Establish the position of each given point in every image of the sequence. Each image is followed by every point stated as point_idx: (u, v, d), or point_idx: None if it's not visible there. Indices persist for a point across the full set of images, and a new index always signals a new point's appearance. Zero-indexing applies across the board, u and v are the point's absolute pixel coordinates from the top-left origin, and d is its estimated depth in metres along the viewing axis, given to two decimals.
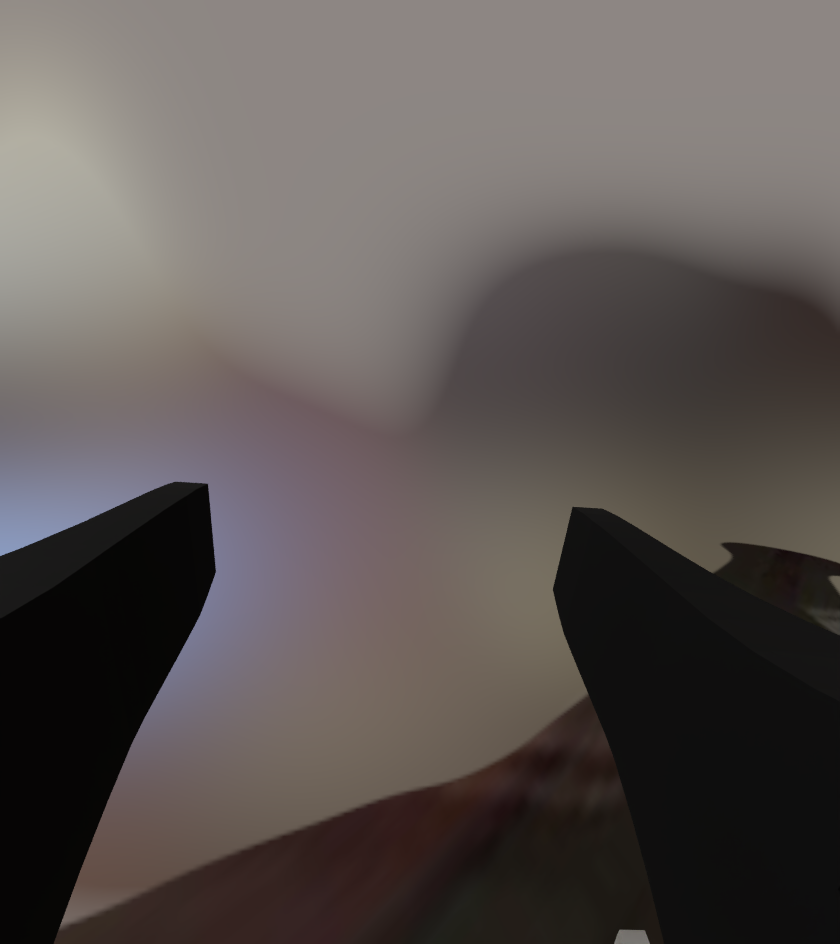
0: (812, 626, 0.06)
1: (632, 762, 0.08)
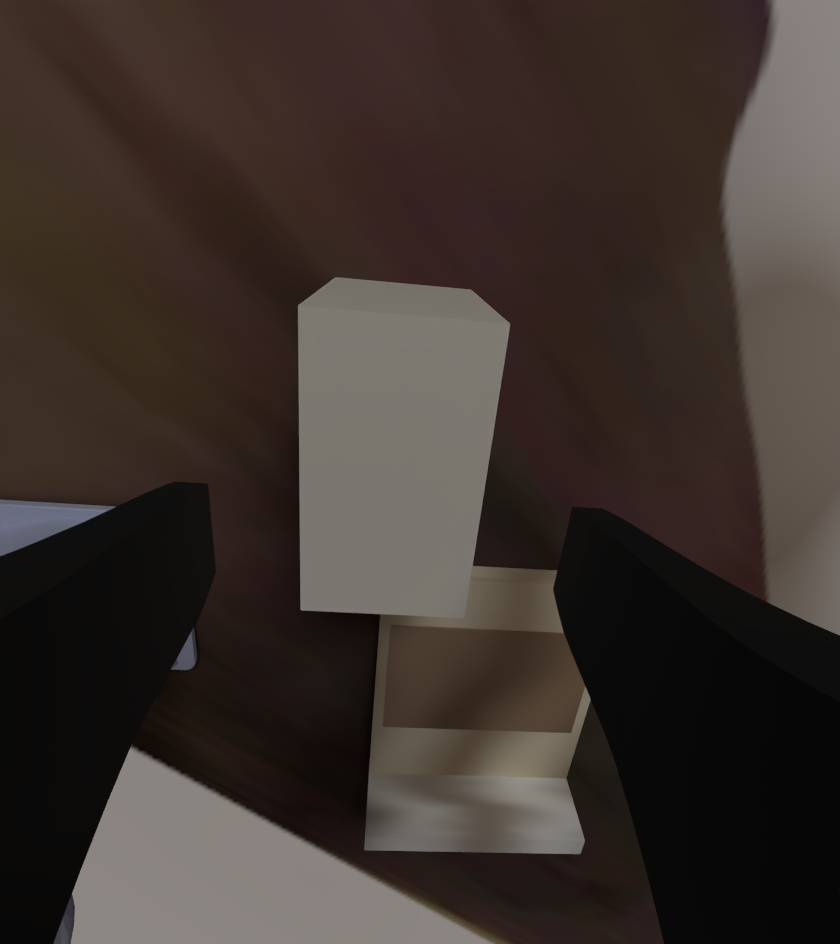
0: (812, 626, 0.06)
1: (632, 762, 0.08)
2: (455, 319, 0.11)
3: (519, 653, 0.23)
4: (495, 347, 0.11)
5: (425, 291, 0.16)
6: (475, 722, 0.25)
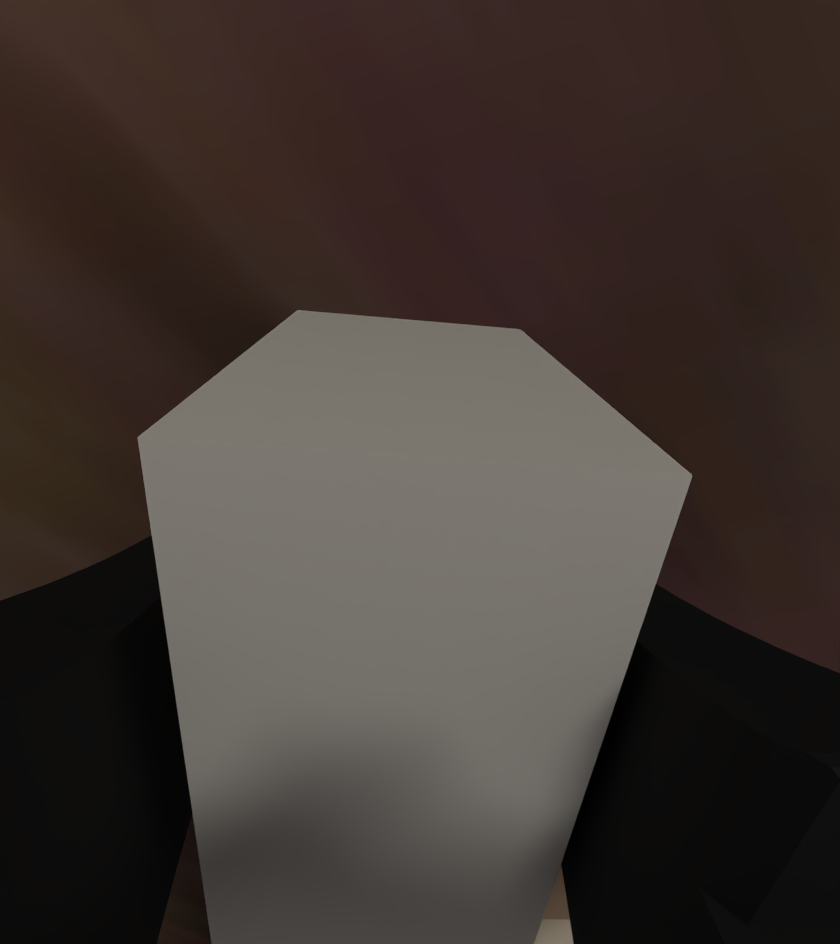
0: (716, 621, 0.06)
1: None
2: (552, 464, 0.04)
3: None
4: (647, 527, 0.05)
5: (450, 341, 0.09)
6: None
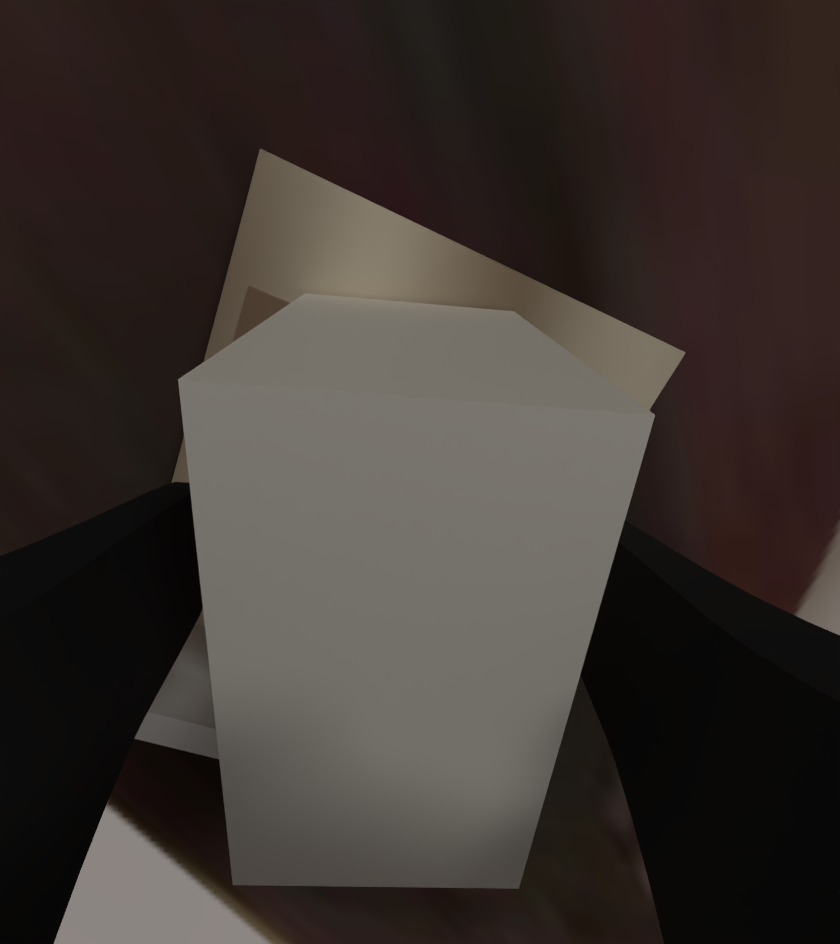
0: (812, 626, 0.06)
1: (632, 762, 0.08)
2: (534, 405, 0.05)
3: None
4: (617, 462, 0.05)
5: (447, 319, 0.10)
6: None
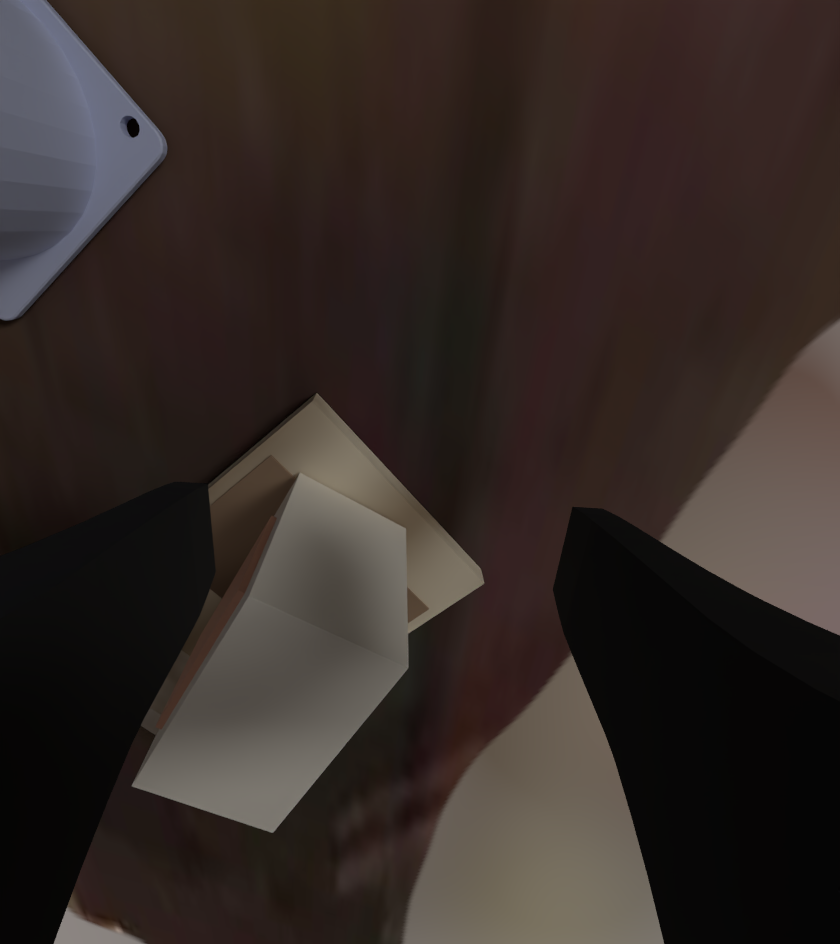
0: (812, 626, 0.06)
1: (632, 762, 0.08)
2: (369, 648, 0.13)
3: None
4: (390, 677, 0.14)
5: (366, 537, 0.18)
6: None
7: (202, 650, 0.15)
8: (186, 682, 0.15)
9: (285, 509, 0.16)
